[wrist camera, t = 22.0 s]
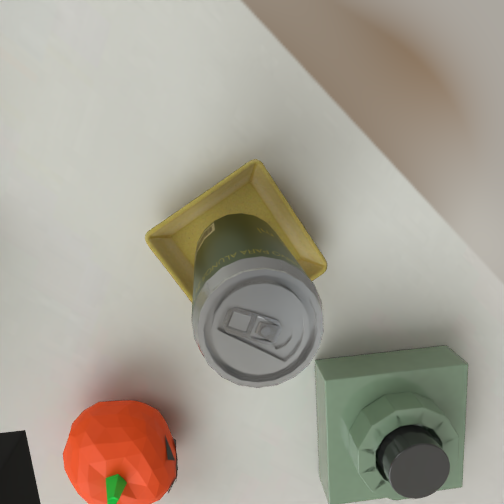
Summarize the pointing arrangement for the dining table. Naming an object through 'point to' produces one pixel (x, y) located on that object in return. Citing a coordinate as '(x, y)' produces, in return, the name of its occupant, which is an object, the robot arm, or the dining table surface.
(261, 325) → the green soda can
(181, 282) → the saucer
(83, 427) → the pumpkin
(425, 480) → the grey knob
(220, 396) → the dining table surface
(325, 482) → the button base
